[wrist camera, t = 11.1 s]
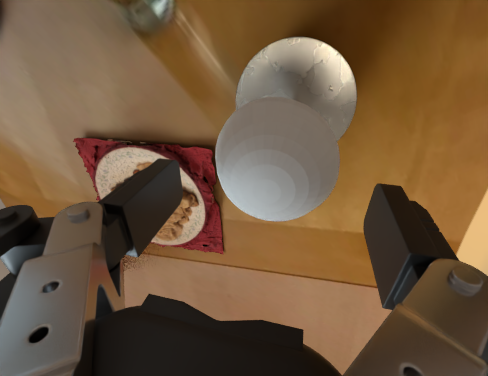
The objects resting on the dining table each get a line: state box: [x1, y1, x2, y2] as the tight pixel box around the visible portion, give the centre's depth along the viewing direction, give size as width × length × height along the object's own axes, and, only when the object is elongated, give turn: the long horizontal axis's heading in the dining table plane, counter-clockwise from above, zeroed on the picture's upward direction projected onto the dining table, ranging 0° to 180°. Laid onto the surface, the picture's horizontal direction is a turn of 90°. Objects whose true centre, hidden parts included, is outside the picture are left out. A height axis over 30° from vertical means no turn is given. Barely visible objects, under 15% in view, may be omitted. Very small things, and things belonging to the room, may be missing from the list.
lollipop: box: [215, 97, 340, 221], centre depth 16 cm, size 6×6×15 cm
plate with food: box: [73, 138, 223, 254], centre depth 47 cm, size 24×26×4 cm
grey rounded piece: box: [236, 37, 357, 141], centre depth 27 cm, size 11×11×12 cm
